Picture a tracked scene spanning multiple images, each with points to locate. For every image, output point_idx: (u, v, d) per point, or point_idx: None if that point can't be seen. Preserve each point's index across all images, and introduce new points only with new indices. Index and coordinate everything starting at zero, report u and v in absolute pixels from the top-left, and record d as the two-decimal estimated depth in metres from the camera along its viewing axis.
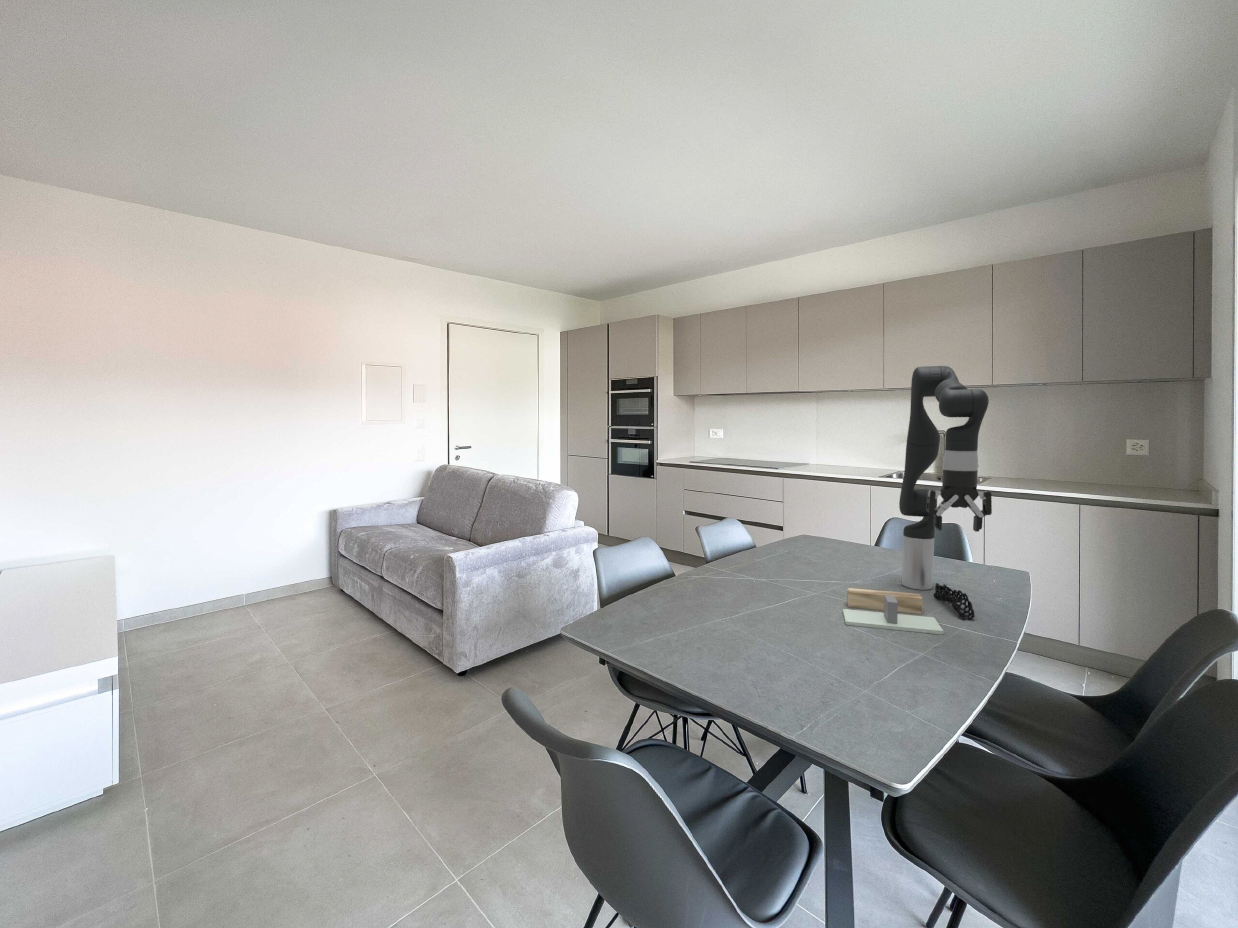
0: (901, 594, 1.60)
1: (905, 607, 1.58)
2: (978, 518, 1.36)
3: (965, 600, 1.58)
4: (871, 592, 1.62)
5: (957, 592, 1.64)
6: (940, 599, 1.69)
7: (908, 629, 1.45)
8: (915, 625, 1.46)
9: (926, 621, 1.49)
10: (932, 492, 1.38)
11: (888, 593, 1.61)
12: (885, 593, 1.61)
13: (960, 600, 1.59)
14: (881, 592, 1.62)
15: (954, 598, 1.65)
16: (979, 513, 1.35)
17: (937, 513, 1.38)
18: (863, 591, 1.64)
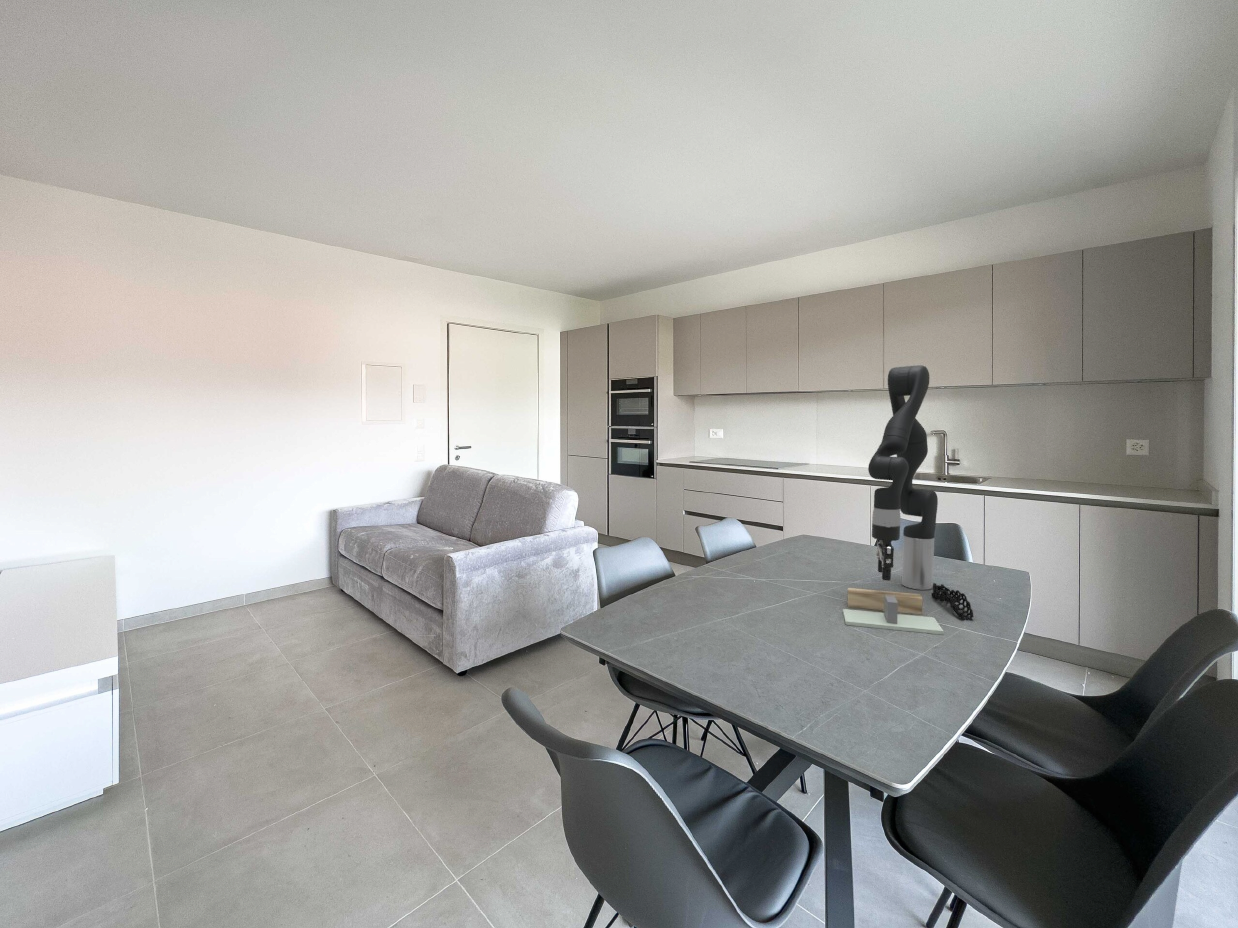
0: (901, 594, 1.60)
1: (905, 607, 1.58)
2: None
3: (963, 600, 1.58)
4: (871, 592, 1.63)
5: (955, 592, 1.64)
6: (938, 599, 1.68)
7: (908, 629, 1.45)
8: (915, 625, 1.46)
9: (926, 621, 1.49)
10: (893, 548, 1.54)
11: (888, 593, 1.61)
12: (885, 593, 1.61)
13: (958, 600, 1.59)
14: (881, 592, 1.62)
15: (952, 598, 1.65)
16: None
17: None
18: (863, 591, 1.64)
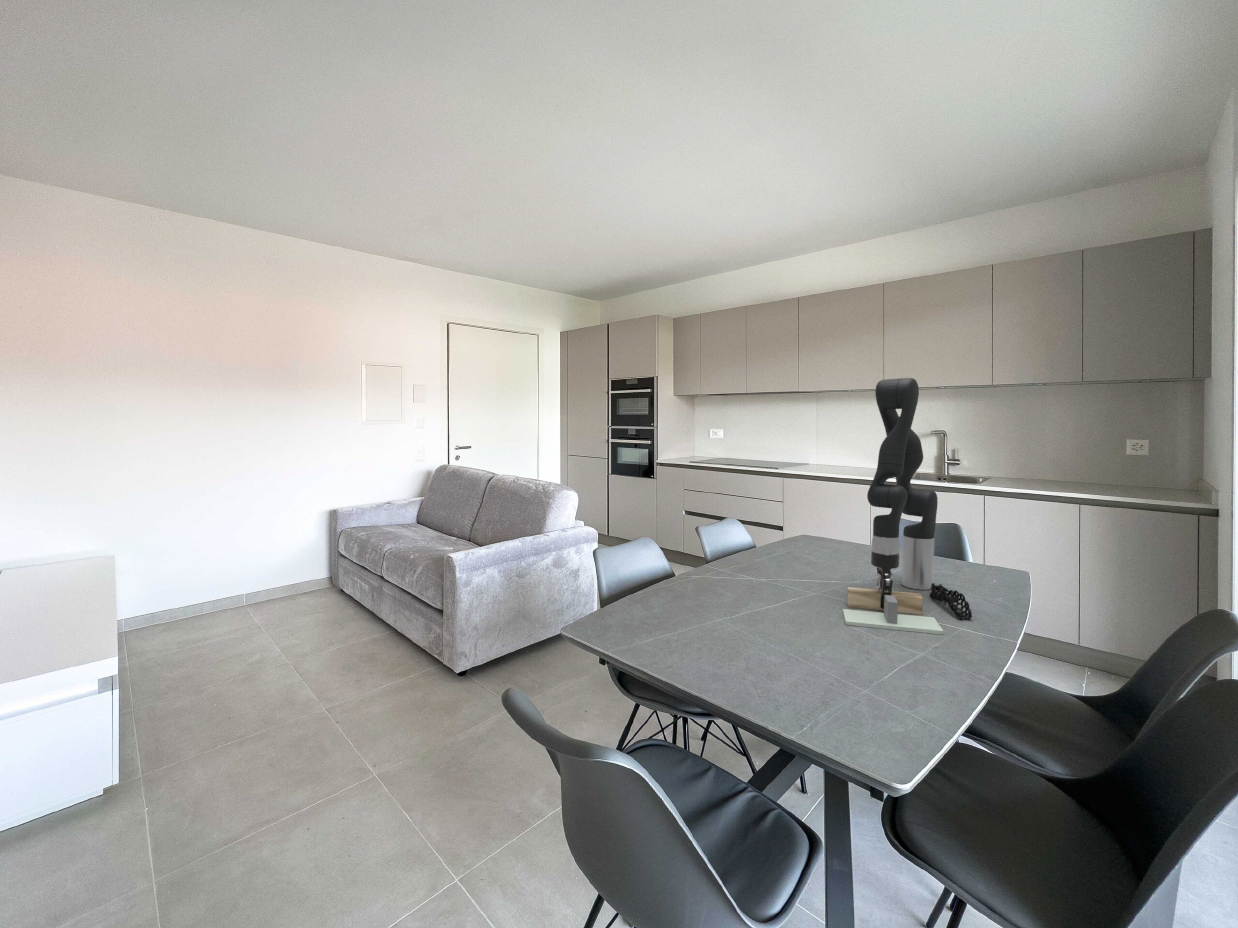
0: (901, 594, 1.60)
1: (905, 607, 1.58)
2: None
3: (962, 600, 1.58)
4: (871, 591, 1.62)
5: (953, 592, 1.64)
6: (936, 599, 1.68)
7: (908, 629, 1.45)
8: (915, 625, 1.46)
9: (926, 621, 1.49)
10: (892, 581, 1.55)
11: None
12: None
13: (957, 600, 1.59)
14: None
15: (950, 598, 1.65)
16: None
17: None
18: (863, 590, 1.64)
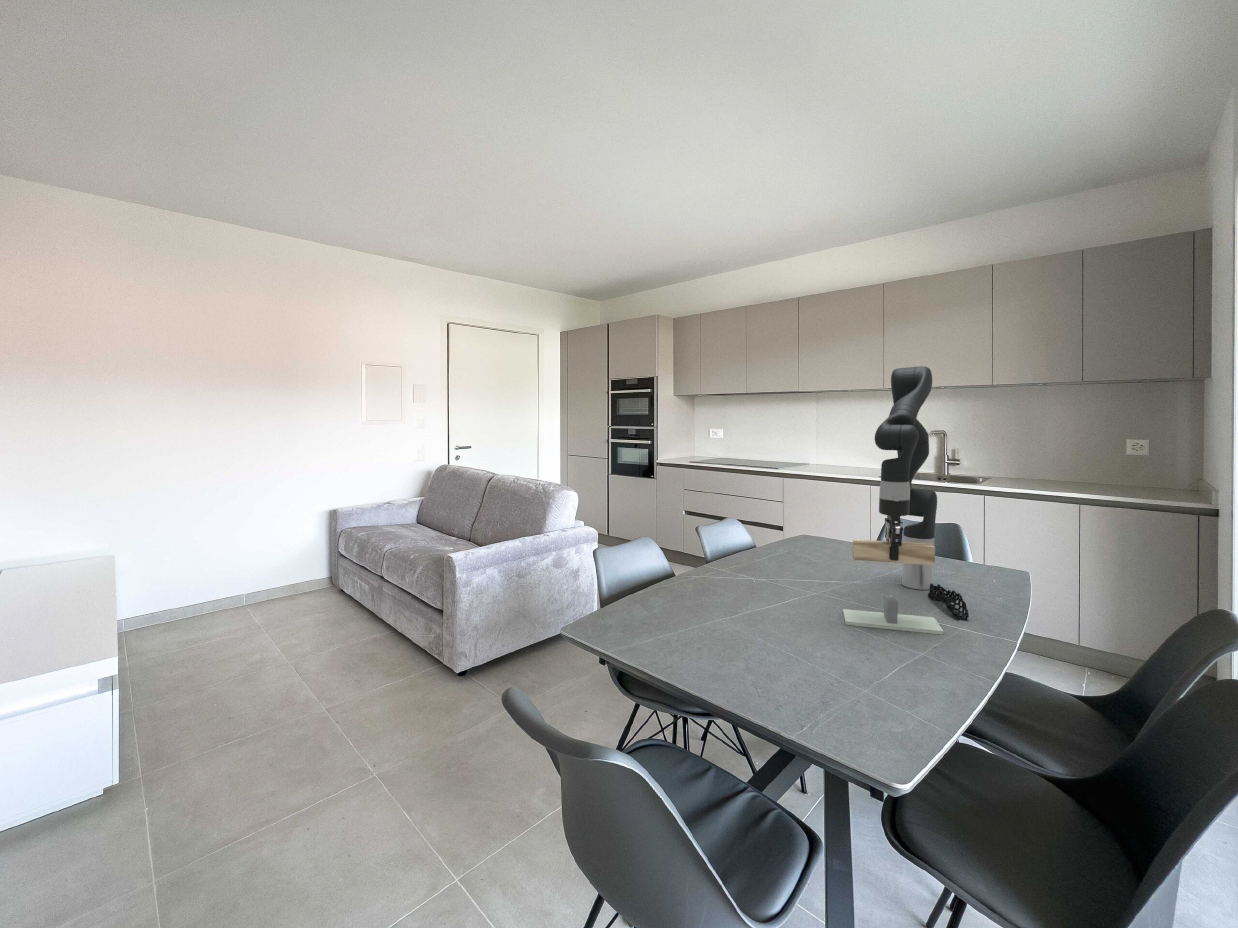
0: (911, 544, 1.47)
1: (916, 558, 1.46)
2: None
3: (959, 600, 1.58)
4: (879, 542, 1.50)
5: (951, 592, 1.64)
6: (934, 599, 1.68)
7: (908, 629, 1.45)
8: (915, 625, 1.46)
9: (926, 621, 1.49)
10: (902, 528, 1.42)
11: None
12: None
13: (954, 600, 1.59)
14: None
15: (948, 598, 1.65)
16: None
17: None
18: (869, 541, 1.51)
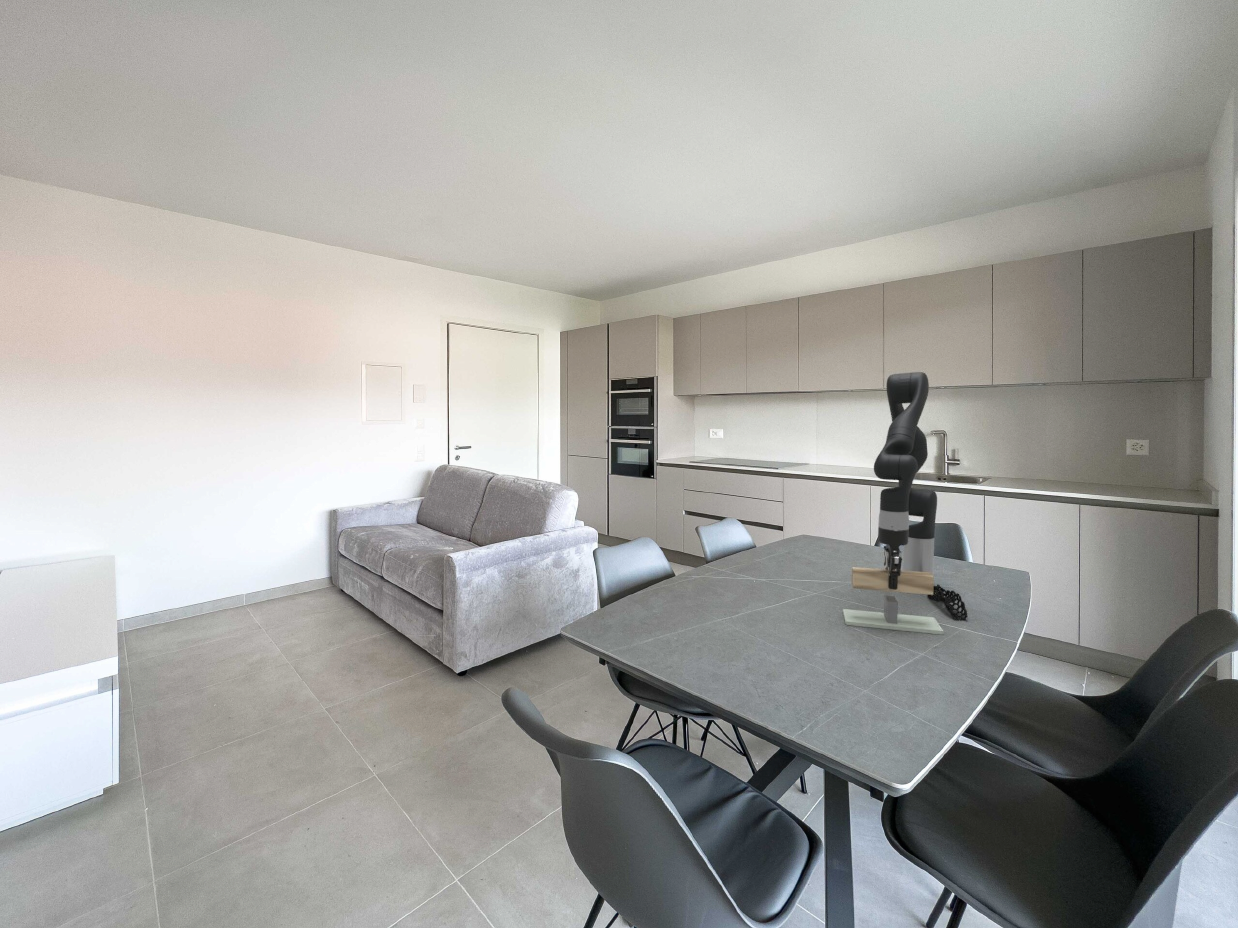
0: (910, 573, 1.48)
1: (914, 587, 1.46)
2: None
3: (958, 600, 1.57)
4: (878, 571, 1.50)
5: (950, 592, 1.64)
6: (933, 599, 1.68)
7: (908, 629, 1.45)
8: (915, 625, 1.46)
9: (926, 621, 1.49)
10: (901, 559, 1.43)
11: None
12: None
13: (953, 600, 1.59)
14: None
15: (947, 598, 1.65)
16: None
17: None
18: (868, 570, 1.51)
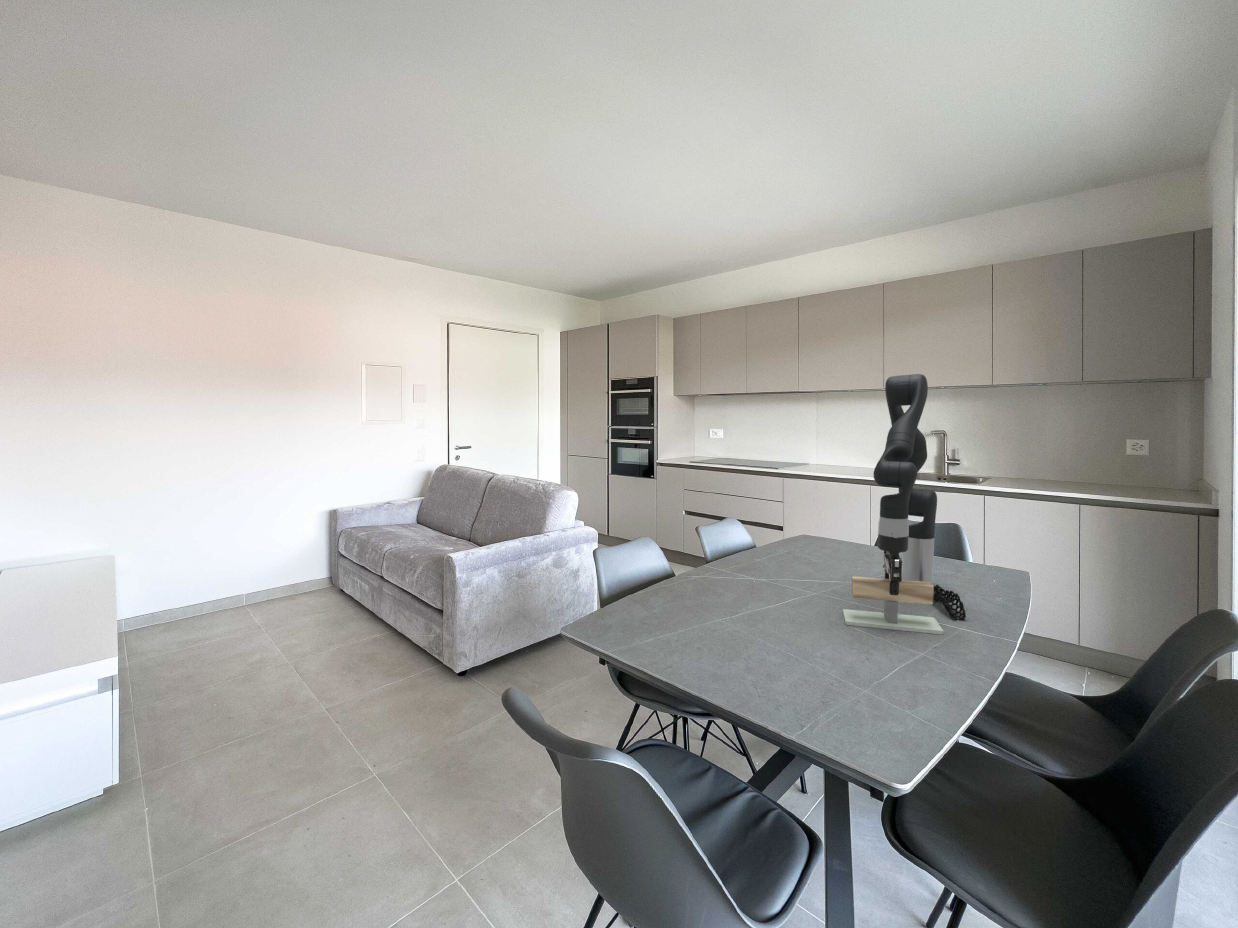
0: (910, 582, 1.48)
1: (914, 596, 1.47)
2: (893, 573, 1.53)
3: (957, 600, 1.57)
4: (878, 580, 1.51)
5: (949, 592, 1.64)
6: None
7: (908, 629, 1.45)
8: (915, 625, 1.46)
9: (926, 621, 1.49)
10: (901, 561, 1.43)
11: None
12: None
13: (952, 600, 1.59)
14: (888, 580, 1.50)
15: (946, 598, 1.65)
16: None
17: None
18: (868, 579, 1.52)
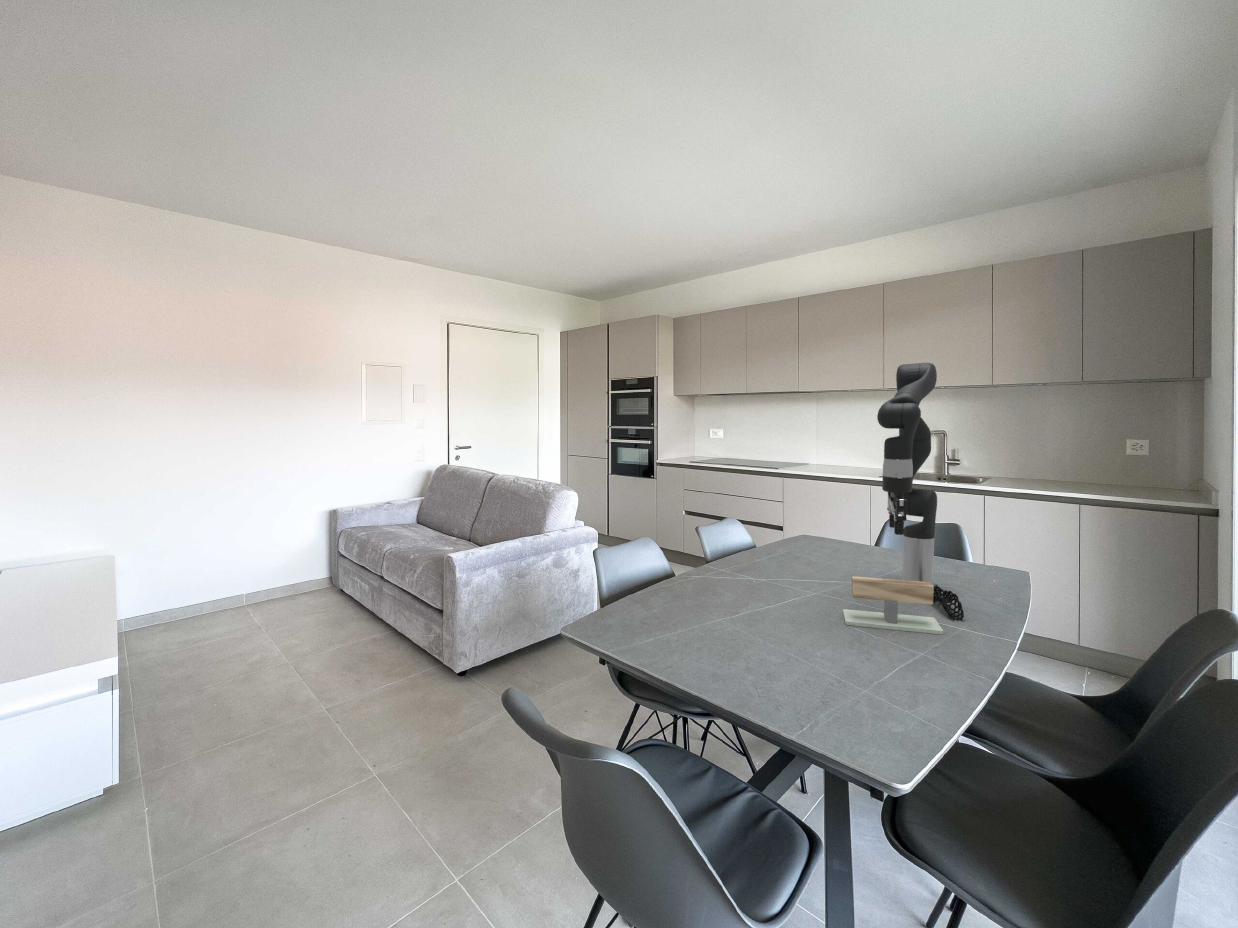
0: (910, 582, 1.48)
1: (914, 596, 1.47)
2: None
3: (955, 600, 1.57)
4: (878, 580, 1.51)
5: None
6: None
7: (908, 629, 1.45)
8: (915, 625, 1.46)
9: (926, 621, 1.49)
10: None
11: (896, 581, 1.49)
12: (893, 581, 1.49)
13: (950, 600, 1.59)
14: (888, 580, 1.50)
15: (945, 598, 1.65)
16: None
17: None
18: (868, 579, 1.52)
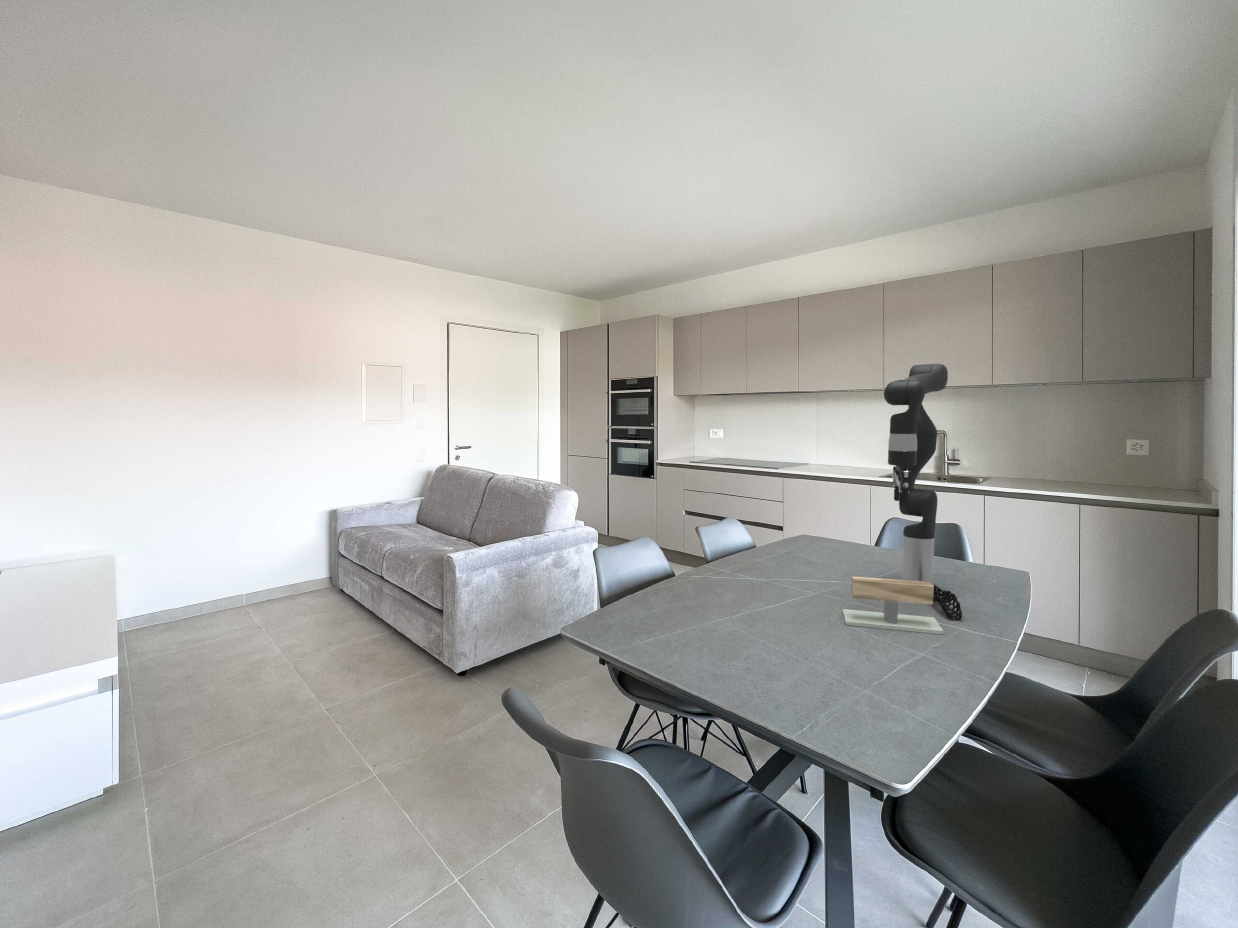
0: (910, 582, 1.48)
1: (914, 596, 1.47)
2: None
3: (954, 600, 1.57)
4: (878, 580, 1.51)
5: None
6: None
7: (908, 629, 1.45)
8: (915, 625, 1.46)
9: (926, 621, 1.49)
10: (910, 472, 1.53)
11: (896, 581, 1.49)
12: (893, 581, 1.49)
13: (949, 600, 1.59)
14: (888, 580, 1.50)
15: (944, 598, 1.65)
16: None
17: None
18: (868, 579, 1.52)
